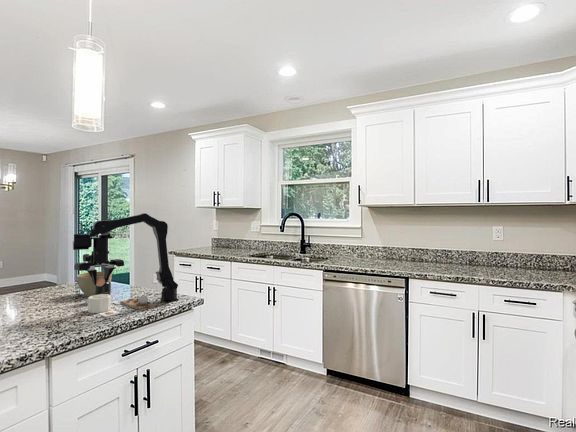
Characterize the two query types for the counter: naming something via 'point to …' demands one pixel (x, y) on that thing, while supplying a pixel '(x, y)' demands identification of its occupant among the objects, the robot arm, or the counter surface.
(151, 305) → the stand
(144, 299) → the ball grey
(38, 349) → the counter surface
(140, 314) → the counter surface
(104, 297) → the cup
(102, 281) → the ball terracotta
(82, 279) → the planter bowl
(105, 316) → the tile
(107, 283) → the supplement bottle
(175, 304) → the counter surface
